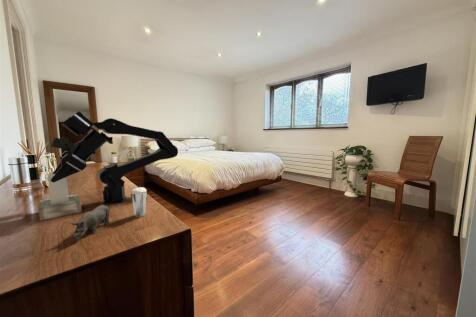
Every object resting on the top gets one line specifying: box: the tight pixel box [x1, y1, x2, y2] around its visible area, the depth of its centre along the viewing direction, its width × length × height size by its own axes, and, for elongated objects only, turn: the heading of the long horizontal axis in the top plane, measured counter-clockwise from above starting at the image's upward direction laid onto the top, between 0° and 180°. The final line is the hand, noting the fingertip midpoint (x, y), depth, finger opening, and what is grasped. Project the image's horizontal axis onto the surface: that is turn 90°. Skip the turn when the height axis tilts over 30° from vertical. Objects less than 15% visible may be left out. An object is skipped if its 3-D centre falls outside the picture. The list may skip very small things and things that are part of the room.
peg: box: [47, 173, 70, 205], centre depth 66 cm, size 4×4×13 cm
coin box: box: [38, 193, 82, 221], centre depth 67 cm, size 10×10×4 cm
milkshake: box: [127, 185, 148, 218], centre depth 63 cm, size 4×5×10 cm
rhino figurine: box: [70, 204, 111, 240], centre depth 52 cm, size 4×14×6 cm, turn 3°
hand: (51, 179), depth 65 cm, fingers open, 9 cm apart
